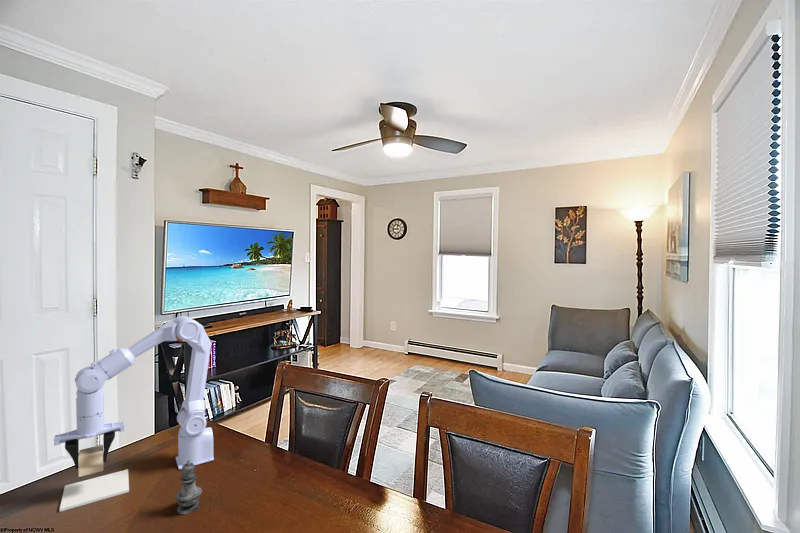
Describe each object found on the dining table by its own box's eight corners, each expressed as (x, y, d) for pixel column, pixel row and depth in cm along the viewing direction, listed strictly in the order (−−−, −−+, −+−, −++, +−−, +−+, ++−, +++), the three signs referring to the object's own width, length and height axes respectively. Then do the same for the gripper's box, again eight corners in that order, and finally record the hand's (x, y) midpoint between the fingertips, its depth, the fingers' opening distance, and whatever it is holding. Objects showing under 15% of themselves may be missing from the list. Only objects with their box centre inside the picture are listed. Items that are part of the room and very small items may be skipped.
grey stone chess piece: (190, 516, 95) (190, 467, 94) (169, 513, 96) (169, 464, 95) (207, 501, 100) (206, 455, 100) (187, 498, 102) (186, 452, 101)
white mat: (128, 471, 114) (128, 469, 114) (129, 491, 104) (129, 489, 104) (64, 487, 106) (64, 485, 106) (59, 511, 96) (59, 509, 96)
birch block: (103, 462, 107) (103, 444, 107) (103, 470, 103) (102, 452, 103) (79, 468, 105) (79, 449, 104) (78, 477, 100) (78, 458, 100)
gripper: (51, 425, 96) (53, 479, 97) (124, 411, 105) (125, 461, 105) (55, 415, 102) (56, 467, 102) (123, 403, 110) (124, 451, 111)
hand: (91, 463), depth 104 cm, fingers closed on birch block, 5 cm apart
